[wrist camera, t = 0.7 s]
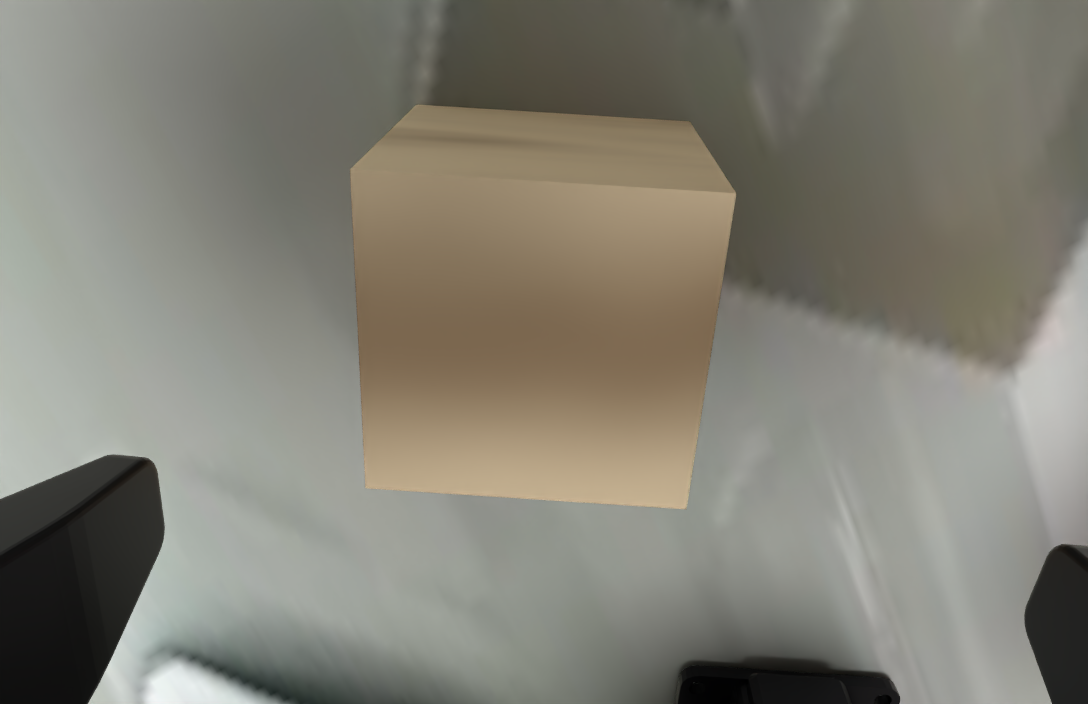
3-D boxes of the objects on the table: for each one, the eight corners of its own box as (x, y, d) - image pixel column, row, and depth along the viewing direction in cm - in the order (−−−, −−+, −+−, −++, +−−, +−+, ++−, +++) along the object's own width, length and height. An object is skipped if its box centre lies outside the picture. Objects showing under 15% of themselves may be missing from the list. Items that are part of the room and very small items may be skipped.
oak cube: (657, 364, 21) (686, 509, 15) (420, 348, 21) (365, 488, 16) (689, 120, 18) (736, 193, 13) (417, 103, 18) (350, 169, 13)
